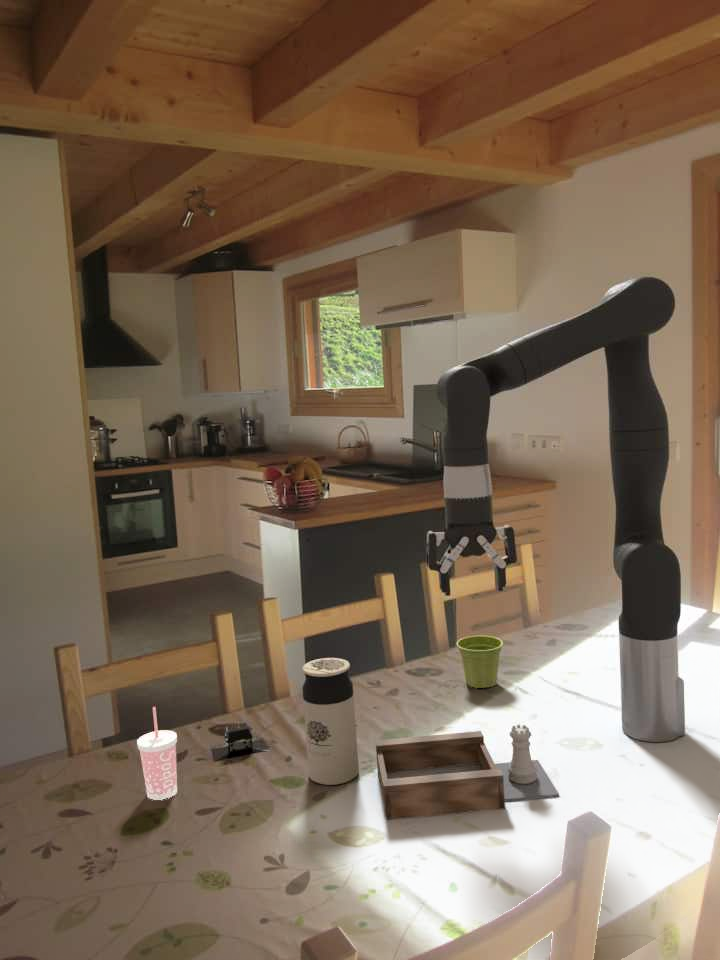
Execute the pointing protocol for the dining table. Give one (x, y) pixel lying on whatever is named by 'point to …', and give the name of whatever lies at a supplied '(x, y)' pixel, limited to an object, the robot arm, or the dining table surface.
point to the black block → (240, 747)
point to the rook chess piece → (521, 757)
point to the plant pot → (480, 659)
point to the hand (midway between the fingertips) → (473, 592)
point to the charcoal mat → (527, 785)
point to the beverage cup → (159, 762)
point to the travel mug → (330, 721)
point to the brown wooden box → (438, 776)
